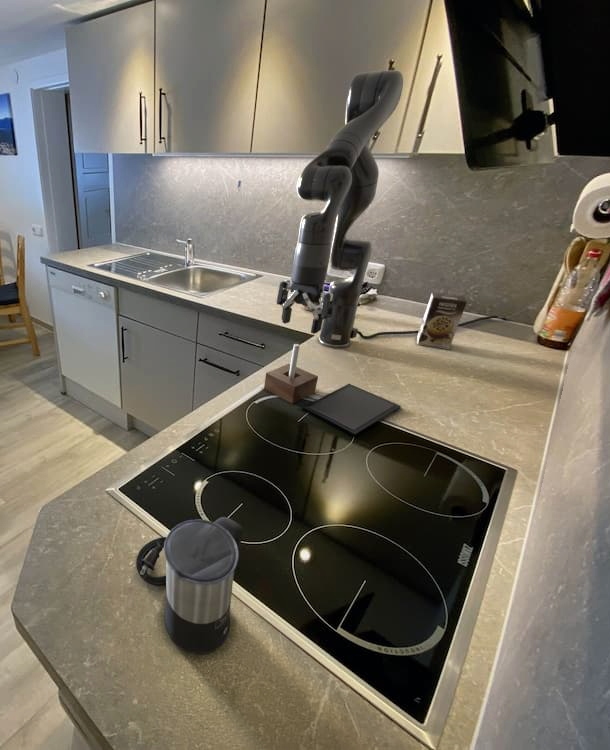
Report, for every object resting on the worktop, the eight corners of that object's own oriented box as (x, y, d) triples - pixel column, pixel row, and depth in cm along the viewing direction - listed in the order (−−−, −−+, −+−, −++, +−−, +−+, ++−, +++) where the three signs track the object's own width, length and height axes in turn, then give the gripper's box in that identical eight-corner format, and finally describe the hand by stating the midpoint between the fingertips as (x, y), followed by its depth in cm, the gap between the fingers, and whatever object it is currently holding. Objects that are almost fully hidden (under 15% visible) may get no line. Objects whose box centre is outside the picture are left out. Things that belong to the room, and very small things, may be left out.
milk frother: (221, 668, 52) (231, 594, 45) (109, 623, 57) (102, 550, 50) (242, 573, 64) (252, 503, 57) (147, 543, 69) (145, 475, 62)
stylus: (288, 389, 113) (296, 343, 106) (292, 391, 112) (300, 345, 105) (285, 390, 112) (292, 344, 106) (289, 392, 111) (297, 346, 105)
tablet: (348, 386, 114) (349, 383, 113) (400, 408, 103) (401, 405, 103) (302, 409, 104) (302, 406, 103) (354, 437, 93) (355, 433, 93)
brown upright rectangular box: (417, 344, 137) (432, 297, 129) (416, 337, 142) (431, 291, 134) (449, 349, 133) (467, 301, 125) (448, 342, 138) (464, 295, 130)
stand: (286, 379, 118) (288, 363, 115) (314, 392, 111) (318, 376, 108) (263, 388, 113) (265, 372, 111) (292, 403, 106) (295, 386, 104)
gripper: (348, 265, 92) (334, 332, 100) (295, 254, 103) (286, 316, 110) (328, 270, 88) (315, 340, 96) (275, 258, 99) (267, 322, 107)
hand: (299, 327), depth 103 cm, fingers open, 8 cm apart
